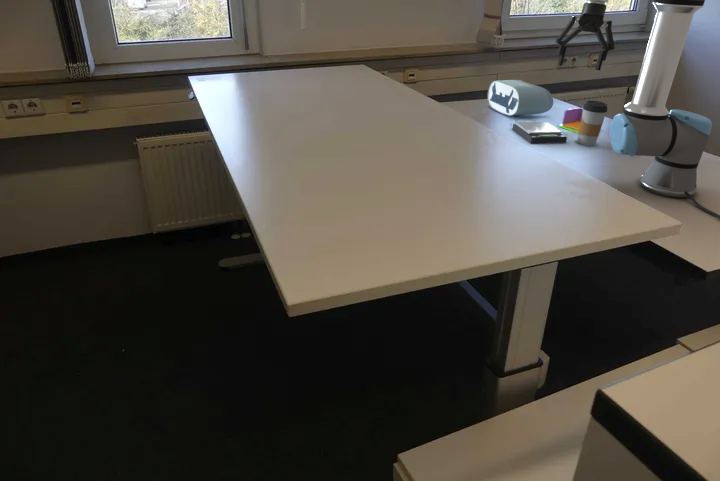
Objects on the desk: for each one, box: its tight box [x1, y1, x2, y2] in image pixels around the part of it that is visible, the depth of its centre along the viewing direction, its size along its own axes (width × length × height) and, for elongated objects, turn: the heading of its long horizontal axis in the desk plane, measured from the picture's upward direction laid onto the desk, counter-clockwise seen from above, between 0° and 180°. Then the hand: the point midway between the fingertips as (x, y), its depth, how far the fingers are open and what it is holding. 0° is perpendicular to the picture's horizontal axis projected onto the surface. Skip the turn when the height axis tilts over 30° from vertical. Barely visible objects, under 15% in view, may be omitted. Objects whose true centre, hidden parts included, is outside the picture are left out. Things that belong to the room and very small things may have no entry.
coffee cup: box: [577, 100, 609, 147], centre depth 194 cm, size 8×8×15 cm
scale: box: [511, 121, 568, 145], centre depth 203 cm, size 17×14×3 cm
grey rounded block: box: [486, 79, 554, 117], centre depth 230 cm, size 22×19×13 cm
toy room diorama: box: [558, 107, 583, 134], centre depth 213 cm, size 12×12×7 cm
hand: (578, 67), depth 189 cm, fingers open, 13 cm apart
